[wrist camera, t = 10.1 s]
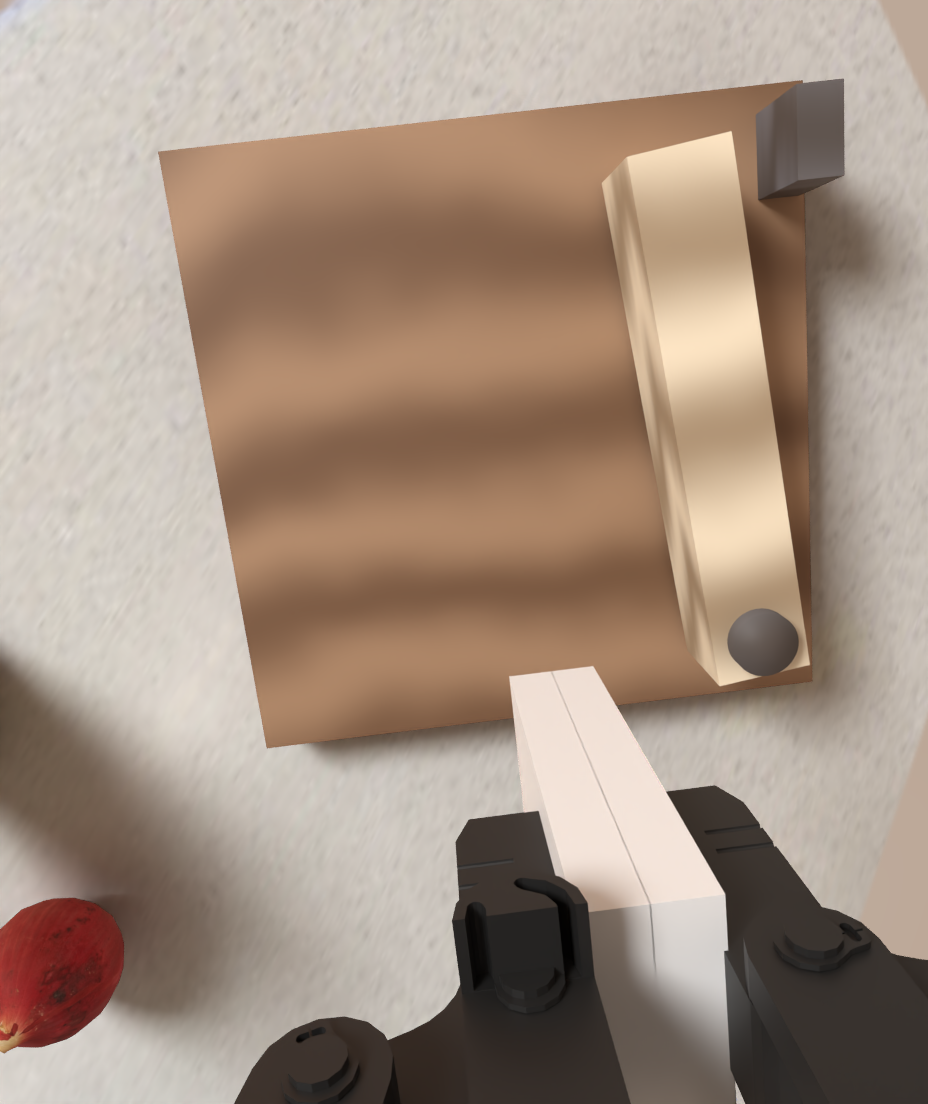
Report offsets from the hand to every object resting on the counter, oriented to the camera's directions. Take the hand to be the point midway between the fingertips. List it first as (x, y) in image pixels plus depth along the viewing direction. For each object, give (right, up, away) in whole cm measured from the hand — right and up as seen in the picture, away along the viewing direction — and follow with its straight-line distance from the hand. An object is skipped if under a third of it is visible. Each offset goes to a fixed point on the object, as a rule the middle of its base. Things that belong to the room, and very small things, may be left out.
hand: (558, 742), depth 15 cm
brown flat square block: (0, +9, +21) cm, 23 cm away
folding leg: (+7, +9, +18) cm, 21 cm away
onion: (-20, -14, +26) cm, 36 cm away
